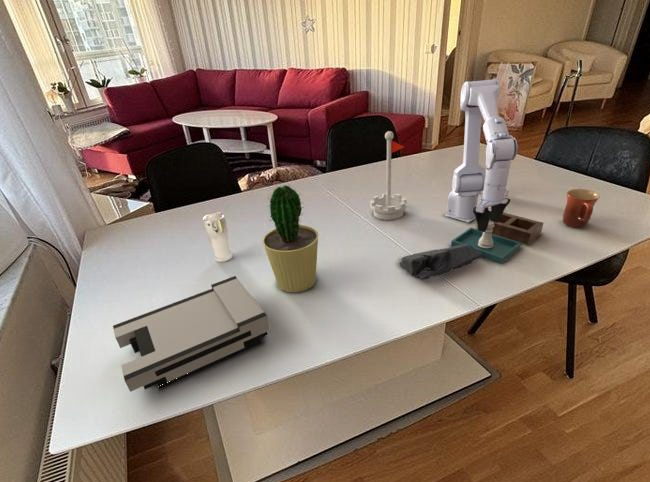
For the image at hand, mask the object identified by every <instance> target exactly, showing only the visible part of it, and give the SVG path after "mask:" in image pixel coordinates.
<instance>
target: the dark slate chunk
mask: <svg viewBox="0 0 650 482" xmlns="http://www.w3.org/2000/svg"><path fill="white" fill-rule="evenodd" d="M482 256H483V254H482V252H480V251H478V250H477V249H474V247H472V246H470V245H457V246H453V247H452V246H450V247H446V248H440V249H431V250H428V251H427V250H426V251H422V252H418V253H417V252H416V253H413V254H409V255H405V256H403V257H402V258H401V260H400V262H399V266H400V267H401V268H402V269H404V270H405V272H406V273H408V274H409V275H411V276H414V277H417V279H418V278H420V279H422V280H427V279H430V277H437V276H440V275H442V274H446V273H449V272H451V271H452V270H455V269H456V270H457V269H460V268H461V267H464V266H468V265H469V264H472V263H473V262H474V261H477V260H479V259H481V258H483V257H482ZM427 269H429V270H427Z"/></svg>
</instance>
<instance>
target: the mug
mask: <svg viewBox="0 0 650 482" xmlns="http://www.w3.org/2000/svg"><path fill="white" fill-rule="evenodd" d="M600 197H601V195H600V193H599V192H596V191H595V190H590V189H585V188H574V189H569V190H567V192H566V204H565V208H564V210H563V214H562V223H563V224H564V225H565V226H566V227H567V226H568V227H570V228H576V229H581V228H584V227H586V226H588V224H589V222H590V220H591V218H592V217H591V216H592V215H593V211H594V207H595V205H596V203H597V201H598V200H599V199H600Z"/></svg>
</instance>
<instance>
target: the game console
mask: <svg viewBox="0 0 650 482" xmlns="http://www.w3.org/2000/svg"><path fill="white" fill-rule="evenodd" d="M112 329H113V333H114V338H115V340H116V342H117V345H118V346H119V348H120V349H122V348H124V347H127V346H129V345H130V346H131V348H132V350H133V353H134V354H138V353H139V354H140V357H138V358H134V359H132V360H130V361H128V362H125V363H123V364H121V365H120V366H121V371H122V376H123V380H124V383H125V384H126V386H127V388H128V391H129V392H130V393H131V392H133V391H136V390H138V389H140V388H143V389H144V390H147V389H150V388H152V387H154V386H157V388H158V389H157V390H158V391H161V390H163V389H165V388H167V387H169V386H171V385H173V384H176V383H177V382H180V381H182V380H184V379H187V378H189V377H191V376H193V375H196V374H197V373H200V372H202V371H204V370H207V369H209V368H211V367H214V366H217V365H218V364H220V363H223V362H224V361H227V360H229V359H231V358H233V357H236V356H237V355H238V356H239V355H240V354H242V353H244V352H246V351H249V350H252V349H254V348H255V347H257V346H260V345H262V344H263V341H262V339H263V338H265V337H267V336H269V333H268V332H269V331H271V330H270V325H269V320H268V316H267V314H266V313H265V312H264V310H263V309H262V308H261V306H260V305H259V304H258V303H257V301H256V300H255V299H254V298H253V296H252V295H251V294H250V292H249V291H248V290H247V289H246V288H245V286H244V284H243V283H242V282H241V281H240V279H238V277H237V276H236V275H234V276H231V277H228V278H226V279H223V280H220V281H218V282H215V283H212V284H211V288H209V289H207V290H205V291H202V292H199V293H196V294H194V295H192V296H188V297H185V298H183V299H180V300H178V301H175V302H172V303H170V304H167V305H164V306H162V307H159V308H156V309H154V310H151V311H148V312H146V313H142V314H140V315H137V316H135V317H132V318H129V319H127V320H124V321H121V322H118V323H116V324H114V325H112ZM187 373H188V374H187ZM176 378H177V379H176ZM169 381H170V382H169ZM167 382H168V383H167ZM162 384H163V385H162ZM160 385H161V386H160ZM158 386H159V387H158Z"/></svg>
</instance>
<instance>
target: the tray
mask: <svg viewBox="0 0 650 482" xmlns="http://www.w3.org/2000/svg"><path fill="white" fill-rule="evenodd" d="M482 235H483V232H482V231H479V230H478V228H475V227H469V228H468V229H466V230H465V231H463V232H462V233H460V234H459V235H457V236H456V237H455V238H453V239H452V240H451V243H450V247H453V246H457V245H470V246H472V247H474V249H477V250H478V251H480V252H482V254H483V256H482V257H481V258H484V259H486V260H489V261H492V262H495V263H498V264H501V265H502V264H503V263H505V262H506V261H508V259H510V258H511V257H512V256H514V255H515V254H516V253H517V252H518V251H519V250H520V249H521V247H522V243H521V242H517V241H514V240H511V239H507V238H504V237H501V236H497V235H494V234H492V239H493V242H494V243H493V247H492V248H490V249H483V248H480V247H479V246H478V243H479V242H478V241H479V239H480V238H481V237H482Z"/></svg>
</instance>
